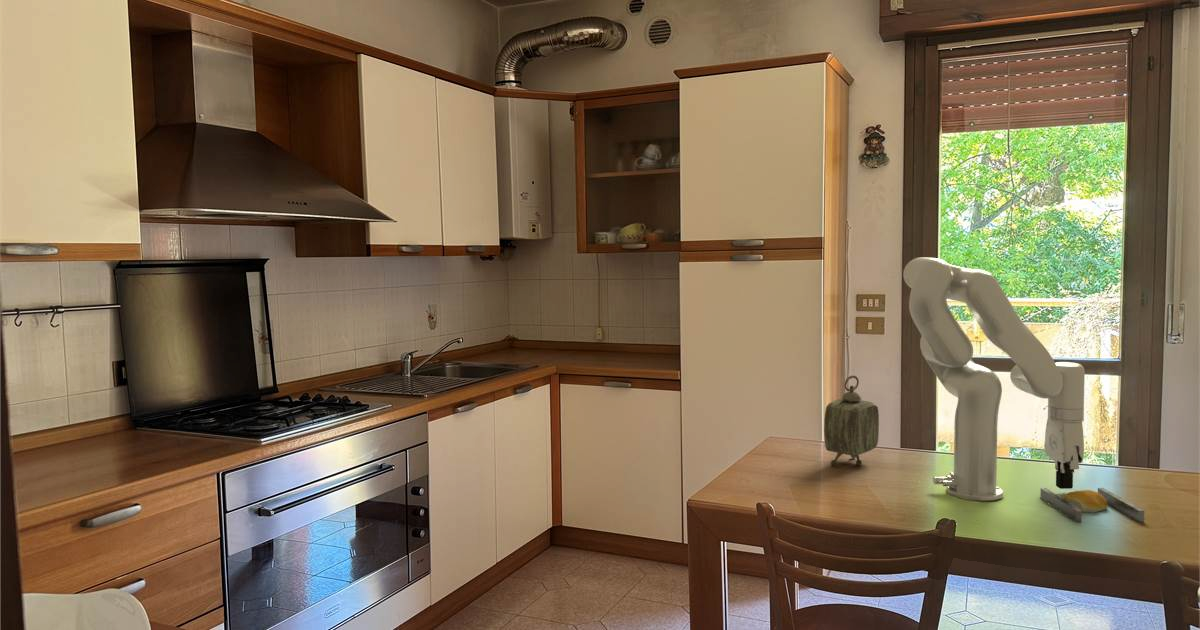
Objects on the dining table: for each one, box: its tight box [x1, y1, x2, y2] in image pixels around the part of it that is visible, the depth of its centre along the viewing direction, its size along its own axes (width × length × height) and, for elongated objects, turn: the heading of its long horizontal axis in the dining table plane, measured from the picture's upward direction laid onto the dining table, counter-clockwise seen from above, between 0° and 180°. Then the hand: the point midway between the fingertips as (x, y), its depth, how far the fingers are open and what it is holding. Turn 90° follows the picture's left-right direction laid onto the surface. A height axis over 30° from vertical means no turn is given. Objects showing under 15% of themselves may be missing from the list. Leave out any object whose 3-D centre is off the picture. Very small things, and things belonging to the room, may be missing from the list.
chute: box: [1039, 487, 1145, 523], centre depth 183 cm, size 14×16×2 cm
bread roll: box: [1061, 489, 1109, 513], centre depth 185 cm, size 8×9×4 cm
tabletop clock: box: [823, 375, 880, 467], centre depth 223 cm, size 14×9×25 cm, turn 133°
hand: (1064, 487), depth 195 cm, fingers closed
